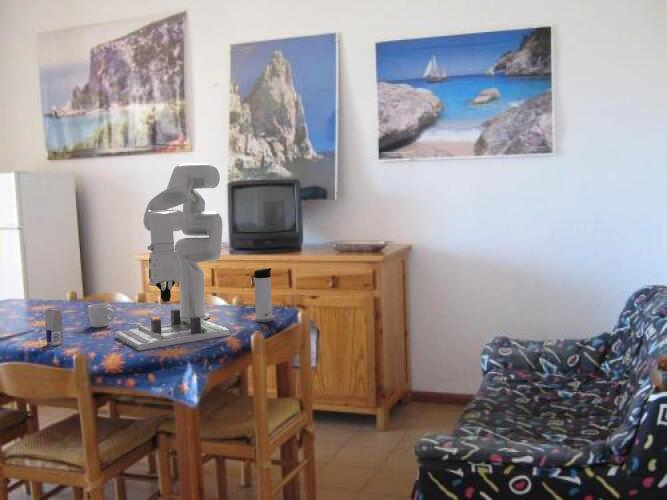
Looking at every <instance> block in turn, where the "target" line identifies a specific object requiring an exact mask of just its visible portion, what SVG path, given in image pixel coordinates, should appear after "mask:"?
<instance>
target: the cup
mask: <svg viewBox="0 0 667 500" xmlns="http://www.w3.org/2000/svg"><path fill="white" fill-rule="evenodd" d="M87 312H88V313H87V314H88V318H89V323H90V327H92V328H104V327H108V325H110V322H113V321H114V320H115V318H116V313H115V312H116V311H115V310H114V309H113V308H111V305H110V304H109V303H96V304H89V305H88V306H87ZM110 313H111V314H110ZM110 315H111V317H110Z"/></svg>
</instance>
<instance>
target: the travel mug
mask: <svg viewBox="0 0 667 500" xmlns="http://www.w3.org/2000/svg"><path fill="white" fill-rule="evenodd" d="M271 271H272V267H269V268H262V269H256V270H254V272H253V276H254V277H253V279H254V280H253V281H254V303H255V304H254V305H255V321H256V323H269V322H272V321H273V300H272V299H273V298H272V297H273V296H272V279H271V278H272V277H271V276H272V275H271Z"/></svg>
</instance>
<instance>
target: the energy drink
mask: <svg viewBox="0 0 667 500" xmlns="http://www.w3.org/2000/svg"><path fill="white" fill-rule="evenodd" d="M44 321H45V323H44V325H45V337H46V345H47V346H48V347H57V346H62V345H63V344H65V339H64V338H65V337H64V325H63V311H62V308H61V307H51V308H46V309H44Z"/></svg>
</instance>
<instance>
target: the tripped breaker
mask: <svg viewBox="0 0 667 500" xmlns="http://www.w3.org/2000/svg"><path fill="white" fill-rule="evenodd" d="M161 320H162V319H161V317H159V316H152V317H150V326H151V330H152V331H154V332H157V333H161V325H162V321H161Z"/></svg>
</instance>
